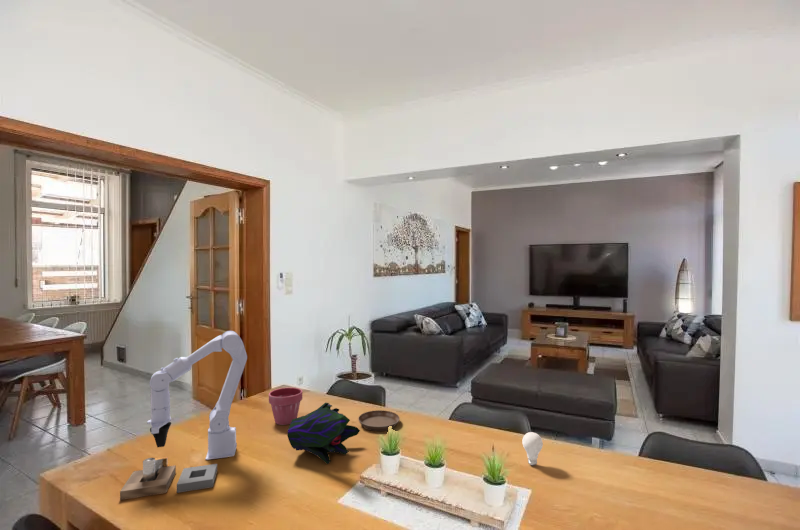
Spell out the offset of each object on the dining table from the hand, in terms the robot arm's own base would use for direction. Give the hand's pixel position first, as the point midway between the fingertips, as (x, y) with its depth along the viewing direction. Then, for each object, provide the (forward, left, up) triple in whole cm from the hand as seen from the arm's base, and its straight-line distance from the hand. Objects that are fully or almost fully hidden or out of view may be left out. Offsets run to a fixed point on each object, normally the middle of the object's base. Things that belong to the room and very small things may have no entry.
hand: (161, 446), depth 137 cm
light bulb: (-121, +39, -7) cm, 127 cm away
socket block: (0, +13, -7) cm, 15 cm away
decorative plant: (-56, +10, -7) cm, 57 cm away
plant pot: (-42, -27, -7) cm, 50 cm away
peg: (0, +13, -7) cm, 15 cm away
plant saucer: (-80, -11, -7) cm, 81 cm away
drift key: (0, +6, -7) cm, 9 cm away
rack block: (-14, +15, -7) cm, 22 cm away
